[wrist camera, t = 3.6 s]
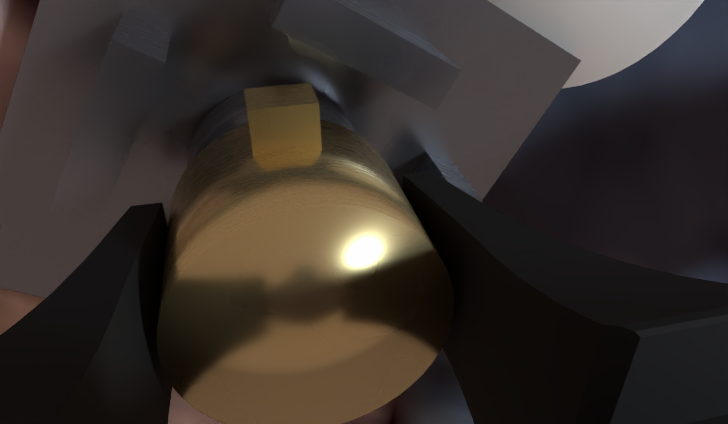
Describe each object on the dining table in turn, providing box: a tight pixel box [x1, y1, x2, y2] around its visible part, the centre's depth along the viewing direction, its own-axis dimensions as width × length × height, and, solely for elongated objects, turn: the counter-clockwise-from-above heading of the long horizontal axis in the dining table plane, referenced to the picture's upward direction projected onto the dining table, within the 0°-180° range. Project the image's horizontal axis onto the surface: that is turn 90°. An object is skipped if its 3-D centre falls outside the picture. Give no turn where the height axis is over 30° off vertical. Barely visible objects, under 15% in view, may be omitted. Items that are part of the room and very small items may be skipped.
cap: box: [157, 83, 454, 424], centre depth 11 cm, size 7×5×4 cm
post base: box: [0, 0, 581, 298], centre depth 14 cm, size 12×12×4 cm
